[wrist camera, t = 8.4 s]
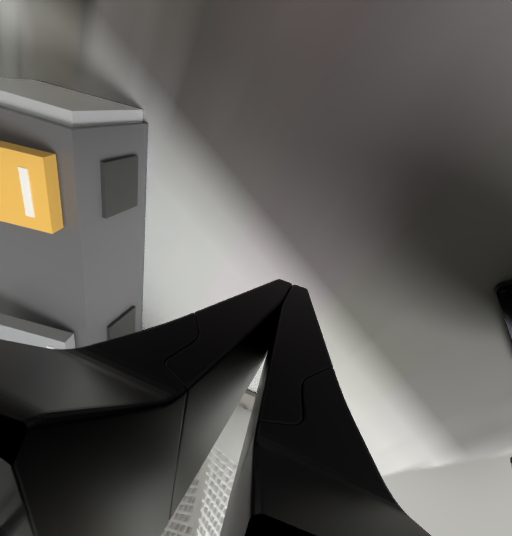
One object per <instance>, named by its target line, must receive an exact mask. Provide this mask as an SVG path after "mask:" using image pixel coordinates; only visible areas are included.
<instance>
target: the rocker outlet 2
mask: <svg viewBox="0 0 512 536" xmlns="http://www.w3.org/2000/svg"><path fill="white" fill-rule="evenodd" d="M0 339H2V340H7V341H12V342H18V343H23V344H28V345H33V346H38V347H44V348H50V349H73V348H75V339H74V333H70V332H67V331H63V330H59V329H56V328H52V327H48V326H45V325H41V324H38V323H34V322H30V321H27V320H23V319H19V318H16V317H12V316H8V315H5V314H1V313H0Z"/></svg>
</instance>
